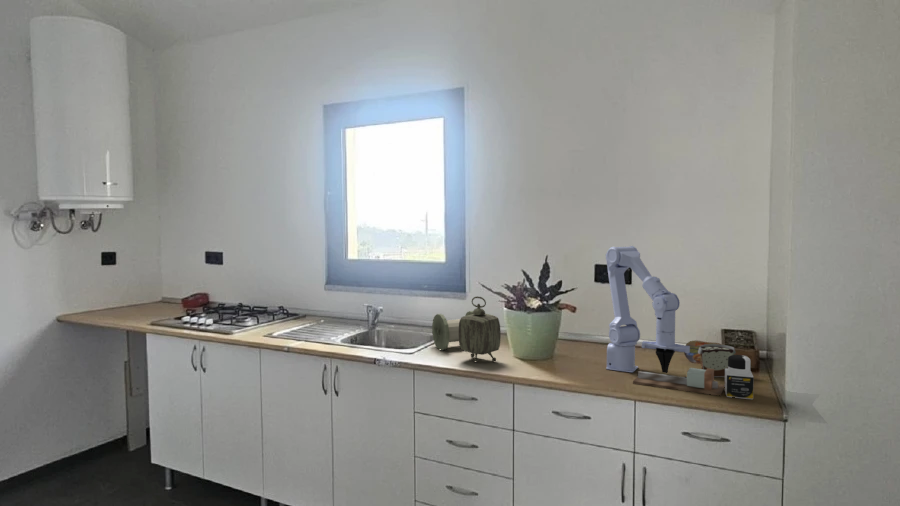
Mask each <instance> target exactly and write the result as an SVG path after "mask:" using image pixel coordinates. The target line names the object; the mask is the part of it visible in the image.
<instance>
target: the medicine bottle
mask: <svg viewBox="0 0 900 506" xmlns="http://www.w3.org/2000/svg"><path fill="white" fill-rule="evenodd" d="M751 360H752V359H750V358H749V357H748V356H747V355H742V354H734V355H731V356H729V357H728V368H725V377H724V385H725V388H724V392H725V395H726V397H727V398H732V397H735V398H736V399H742V400H743V399H746V400H754V383H755V382H754V380H755V379H754V378H755V377H754V375H753V373H752V371H751ZM735 398H734V399H735Z"/></svg>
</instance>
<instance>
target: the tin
mask: <svg viewBox="0 0 900 506" xmlns="http://www.w3.org/2000/svg"><path fill="white" fill-rule="evenodd" d="M705 344H719V345H723V344H721V343H718V342H713V341H705V340H697V339H696V340H691V341H688V342H687V343H686V344H685V346H690V352H689V353H685V352H683V354H684V357H685V358H686V360H687V361H689V362H691V363H692V364H697V365H698V364H699V365H701V358H700V354H699V353H698V350H699V348H700V346H701V345H705Z"/></svg>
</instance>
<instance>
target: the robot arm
mask: <svg viewBox="0 0 900 506" xmlns="http://www.w3.org/2000/svg"><path fill="white" fill-rule="evenodd" d="M605 260H606V266H607V273H608V274H607V275H608V282H609V289H610V290H609V291H610V296H611V301H612V302H611V303H612V308H613V316H614V319H612V321H611V322H610V323H609V325H608V326H609V331H608V337H609V340H610V342H609V343H608V344H607V347H606V367H605V369H606V370H611V371H618V372H623V373H624V372H626V373H634V372H635V371H636V370H637V369H638V368H639V366H638V365H636V345H637V344H638V343H637V342H639V341H640V339H641V332H640V329H639V326H638V323H637V320H635V319H634V318H633V317H631V314H630V313H631V312H630V306H629V300H628V294H627V293H628V292H627V286H626V281H625V272H626V271H628V269H629V268H630V269H631V271H633V273H634V274H635V275H636V276H637V277H638V278H639V279H640V280H641V281H642V287H641V288H643V290H644V291H645V292H646V294H648V296H649V298H650V299H651V300H652V303H651V304H652V307H653V310H654V316H655V317H656V320H655V321H656V323H655V324H656V325H655V326H656V328H655V333H656V334H655V341H645V340H643V341H641V348H642V349H654V350H655V355H656V356H657V359H658V361H659V363H660V368H661V372H662V373H663V374H664V373H665V374H667V373H668V372H669V366H670V363H671V361H672V358H673V357H674V354H675V352H680V353H684V352H685V353H689V352H690V346H685V345H686V344H685V345H683V344H680V343H678V344H677V343H676V311H678V309H679V308H680V306H681V305H680V299H679V296H678V295H677V294H676V293H673V292H671V291H669V290H668V289H667V288H666V286H665V285H664V283H662V282H661V279H660V278H659V277H657V276H654V275H653V276H652V274H651V273H650V272H649V269H648V268H647V267H646V265H645V264H644V262H643V261H642V259H641V253H640V251H639V250H638V249H637V247H636V246H634V245H629V246H611V247H609V249H607V252H606V253H605Z"/></svg>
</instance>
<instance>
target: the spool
mask: <svg viewBox="0 0 900 506" xmlns="http://www.w3.org/2000/svg"><path fill="white" fill-rule="evenodd" d="M473 311H474V310H468V311H467V312H466V313H465V314H464V315H465V316H468V315H472V313H473ZM460 319H461V318H460ZM460 319H449V320H447V317H445V315H444V314H442V313H436V314H435V315H434V317H433V319H432V325H431V329H432V330H431V332H432V340H433V342H434V346H435V347H436V349H437V348H439V349H441V350H442V351H446V350H447V349H448V347H449V344H450V343H454V342H459V322H460ZM439 349H438V350H439Z"/></svg>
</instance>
